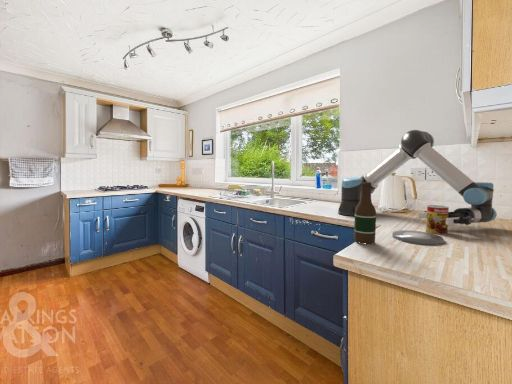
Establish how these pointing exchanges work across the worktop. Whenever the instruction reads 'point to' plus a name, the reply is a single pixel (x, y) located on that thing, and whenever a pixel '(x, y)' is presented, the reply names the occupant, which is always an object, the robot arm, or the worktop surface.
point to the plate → (418, 237)
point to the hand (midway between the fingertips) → (431, 218)
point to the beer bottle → (365, 217)
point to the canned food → (437, 219)
